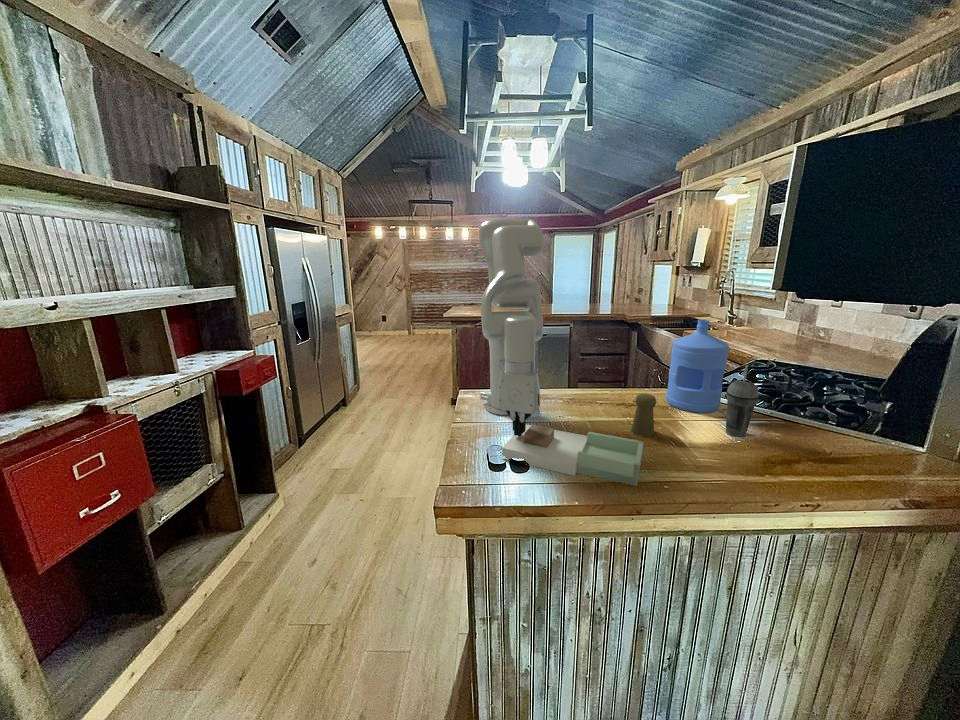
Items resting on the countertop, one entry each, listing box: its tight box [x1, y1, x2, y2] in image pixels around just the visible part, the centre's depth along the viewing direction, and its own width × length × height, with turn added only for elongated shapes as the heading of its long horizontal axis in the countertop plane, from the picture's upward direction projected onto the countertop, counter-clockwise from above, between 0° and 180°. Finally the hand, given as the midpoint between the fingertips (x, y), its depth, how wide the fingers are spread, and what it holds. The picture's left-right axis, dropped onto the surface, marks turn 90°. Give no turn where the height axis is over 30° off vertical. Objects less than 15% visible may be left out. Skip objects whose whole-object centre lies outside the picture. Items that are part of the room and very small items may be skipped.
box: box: [576, 431, 645, 487], centre depth 89 cm, size 13×12×5 cm
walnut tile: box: [524, 424, 555, 448], centre depth 96 cm, size 6×6×2 cm
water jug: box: [665, 319, 730, 414], centre depth 121 cm, size 16×16×28 cm
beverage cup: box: [725, 364, 760, 439], centre depth 101 cm, size 7×7×20 cm
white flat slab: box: [501, 424, 587, 476], centre depth 96 cm, size 18×15×3 cm
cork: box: [630, 393, 657, 438], centre depth 105 cm, size 6×6×11 cm
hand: (519, 433), depth 98 cm, fingers closed
